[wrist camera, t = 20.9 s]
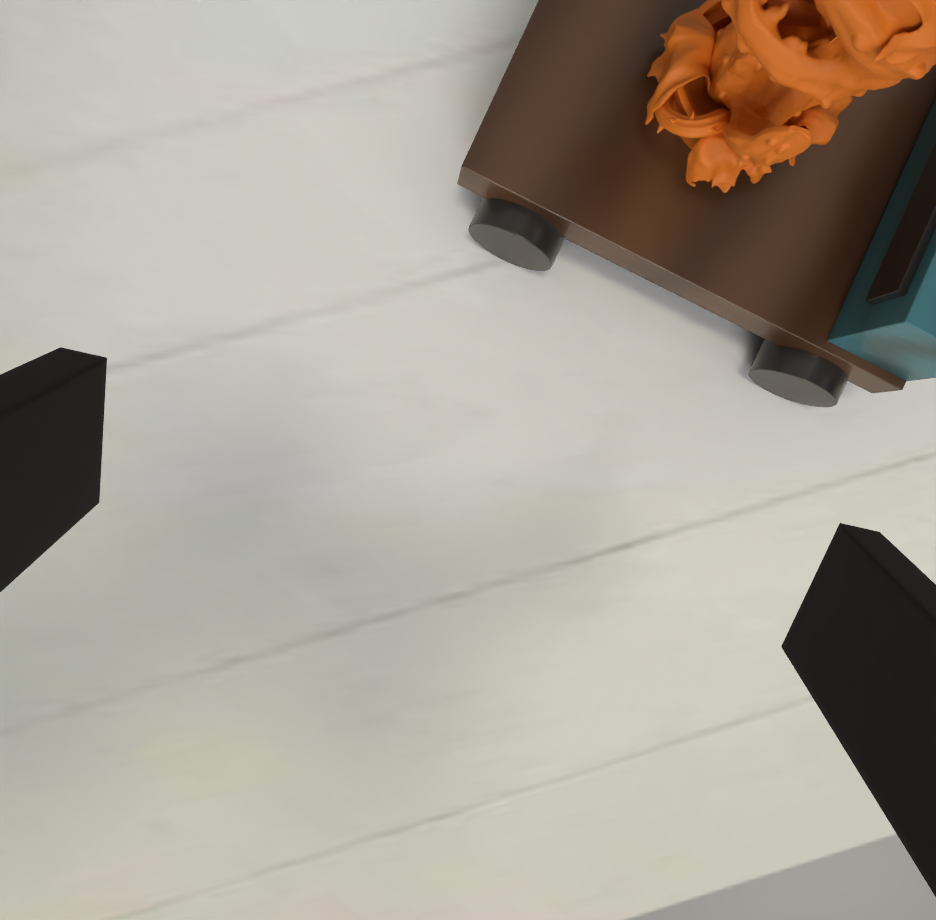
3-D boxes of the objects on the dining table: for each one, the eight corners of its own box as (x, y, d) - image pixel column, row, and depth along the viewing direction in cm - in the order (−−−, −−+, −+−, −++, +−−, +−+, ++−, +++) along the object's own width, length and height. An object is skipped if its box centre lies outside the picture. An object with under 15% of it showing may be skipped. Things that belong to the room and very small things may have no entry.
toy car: (440, 228, 43) (460, 145, 31) (590, -95, 44) (666, -299, 32) (825, 419, 46) (980, 410, 34) (962, 112, 46) (1161, -4, 34)
